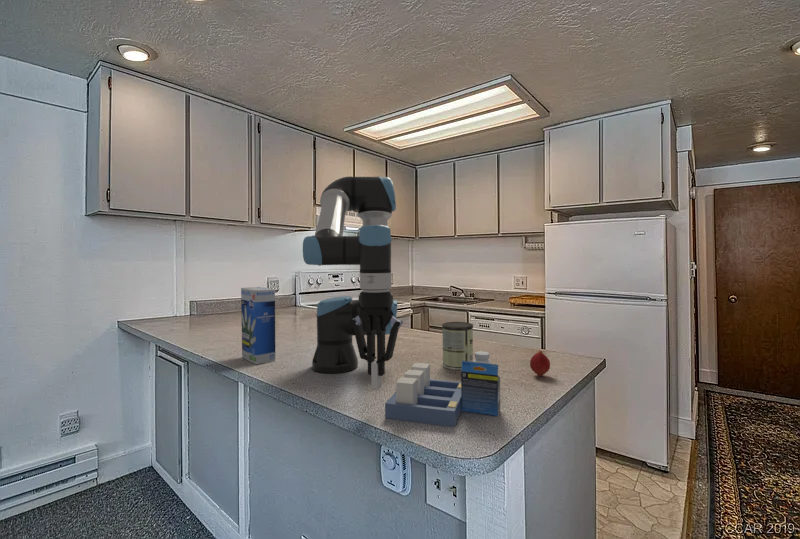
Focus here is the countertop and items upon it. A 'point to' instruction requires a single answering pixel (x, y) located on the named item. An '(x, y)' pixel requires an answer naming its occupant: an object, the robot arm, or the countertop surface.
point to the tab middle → (420, 379)
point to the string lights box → (258, 324)
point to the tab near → (406, 391)
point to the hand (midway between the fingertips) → (376, 388)
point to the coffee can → (457, 344)
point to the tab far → (426, 371)
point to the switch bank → (430, 405)
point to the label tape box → (480, 388)
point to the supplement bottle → (481, 359)
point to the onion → (540, 363)
